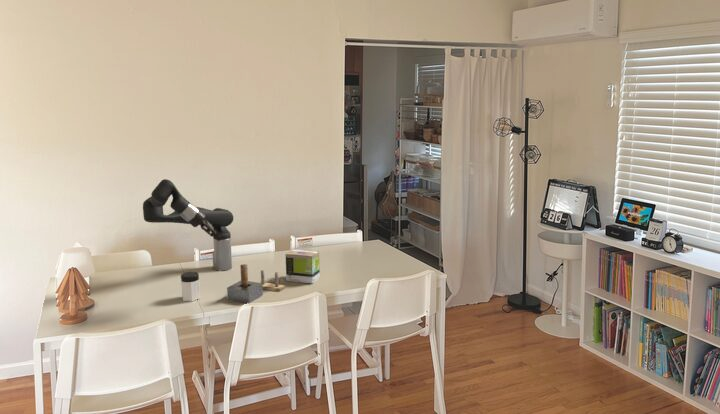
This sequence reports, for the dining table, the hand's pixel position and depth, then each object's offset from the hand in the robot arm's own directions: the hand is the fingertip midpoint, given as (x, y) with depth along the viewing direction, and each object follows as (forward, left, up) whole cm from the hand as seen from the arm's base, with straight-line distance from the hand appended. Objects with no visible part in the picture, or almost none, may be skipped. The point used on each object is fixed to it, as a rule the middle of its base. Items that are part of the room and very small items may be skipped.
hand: (219, 237), depth 285 cm
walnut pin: (+8, +7, -29) cm, 31 cm away
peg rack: (+12, +23, -31) cm, 40 cm away
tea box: (+21, +41, -31) cm, 56 cm away
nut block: (+8, +7, -31) cm, 32 cm away
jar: (-15, -4, -31) cm, 34 cm away
